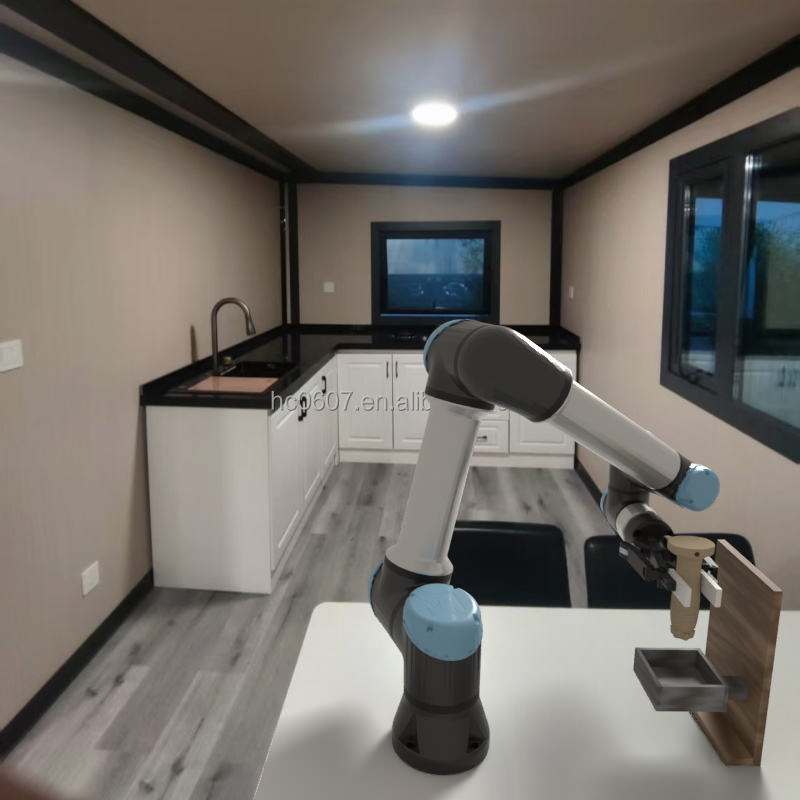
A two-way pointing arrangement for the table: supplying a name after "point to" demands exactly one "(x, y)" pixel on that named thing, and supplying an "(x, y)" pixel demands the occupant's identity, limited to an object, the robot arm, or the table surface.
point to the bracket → (723, 663)
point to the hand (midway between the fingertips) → (703, 598)
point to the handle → (688, 581)
